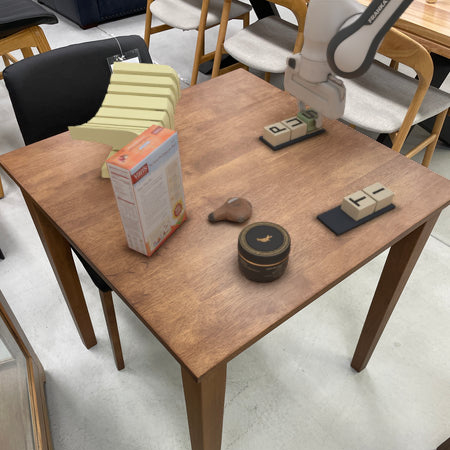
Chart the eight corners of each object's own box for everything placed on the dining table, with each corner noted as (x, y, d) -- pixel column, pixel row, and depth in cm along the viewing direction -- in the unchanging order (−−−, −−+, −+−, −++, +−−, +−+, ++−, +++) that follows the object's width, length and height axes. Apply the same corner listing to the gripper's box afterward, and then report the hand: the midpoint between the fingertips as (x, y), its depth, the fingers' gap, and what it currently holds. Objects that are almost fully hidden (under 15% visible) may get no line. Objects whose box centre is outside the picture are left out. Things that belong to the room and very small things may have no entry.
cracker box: (165, 210, 98) (153, 121, 82) (187, 219, 96) (179, 130, 80) (125, 248, 90) (103, 158, 74) (149, 258, 88) (131, 169, 72)
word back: (308, 120, 122) (310, 107, 119) (325, 132, 118) (327, 118, 115) (258, 138, 116) (259, 125, 113) (274, 151, 112) (275, 137, 109)
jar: (297, 267, 86) (302, 238, 81) (263, 293, 82) (265, 265, 76) (261, 241, 91) (263, 213, 85) (226, 265, 87) (226, 237, 81)
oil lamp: (219, 204, 100) (206, 227, 95) (216, 190, 97) (203, 212, 92) (256, 209, 97) (245, 232, 93) (255, 194, 94) (243, 217, 90)
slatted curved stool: (157, 205, 99) (145, 132, 85) (90, 199, 100) (67, 126, 87) (184, 134, 118) (178, 65, 104) (127, 130, 119) (114, 61, 105)
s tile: (310, 118, 120) (311, 107, 118) (321, 126, 117) (323, 115, 115) (295, 123, 118) (297, 112, 116) (307, 131, 116) (309, 120, 113)
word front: (372, 191, 101) (376, 178, 99) (395, 208, 98) (400, 194, 95) (316, 217, 96) (318, 204, 93) (337, 236, 92) (341, 222, 89)
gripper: (357, 80, 102) (344, 134, 113) (301, 49, 113) (295, 102, 123) (336, 87, 100) (326, 142, 110) (282, 55, 111) (277, 108, 121)
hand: (309, 120), depth 117 cm, fingers closed on s tile, 5 cm apart
